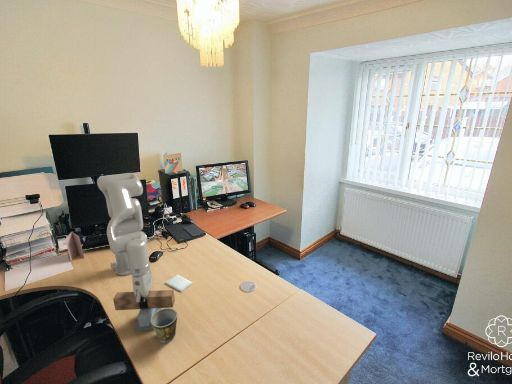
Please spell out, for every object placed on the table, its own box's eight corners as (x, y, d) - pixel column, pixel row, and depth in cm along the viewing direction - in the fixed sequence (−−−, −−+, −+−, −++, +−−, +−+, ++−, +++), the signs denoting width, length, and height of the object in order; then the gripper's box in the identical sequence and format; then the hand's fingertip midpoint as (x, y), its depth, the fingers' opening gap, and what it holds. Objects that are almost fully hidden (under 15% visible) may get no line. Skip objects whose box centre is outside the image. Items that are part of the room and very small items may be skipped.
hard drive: (165, 282, 141) (181, 290, 134) (177, 274, 147) (193, 282, 141) (165, 284, 141) (181, 293, 135) (177, 276, 148) (193, 284, 141)
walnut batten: (115, 310, 112) (113, 298, 110) (119, 303, 116) (117, 292, 114) (172, 307, 114) (171, 296, 112) (174, 300, 118) (173, 289, 116)
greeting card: (75, 252, 171) (70, 231, 166) (88, 250, 173) (83, 230, 168) (69, 261, 161) (63, 240, 156) (83, 259, 163) (78, 238, 158)
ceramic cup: (152, 332, 111) (149, 313, 108) (176, 323, 115) (173, 304, 112) (157, 357, 100) (154, 336, 97) (183, 345, 105) (181, 326, 101)
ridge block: (134, 331, 111) (131, 317, 109) (143, 310, 123) (141, 297, 120) (153, 330, 112) (151, 316, 110) (161, 309, 123) (159, 296, 121)
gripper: (142, 280, 101) (148, 318, 107) (155, 256, 117) (159, 290, 123) (122, 281, 101) (129, 319, 106) (137, 257, 116) (143, 291, 122)
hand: (145, 303), depth 115 cm, fingers closed on walnut batten, 4 cm apart
